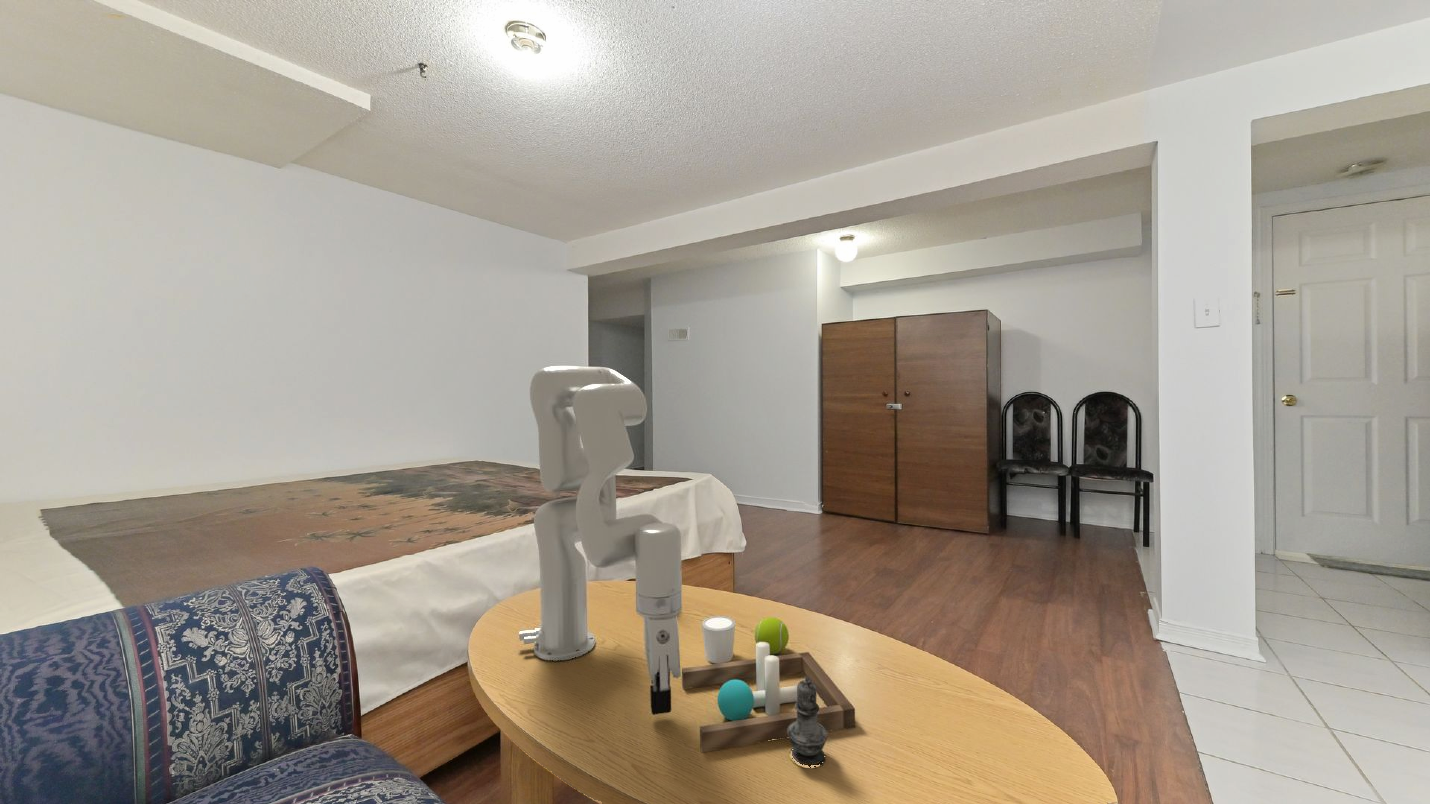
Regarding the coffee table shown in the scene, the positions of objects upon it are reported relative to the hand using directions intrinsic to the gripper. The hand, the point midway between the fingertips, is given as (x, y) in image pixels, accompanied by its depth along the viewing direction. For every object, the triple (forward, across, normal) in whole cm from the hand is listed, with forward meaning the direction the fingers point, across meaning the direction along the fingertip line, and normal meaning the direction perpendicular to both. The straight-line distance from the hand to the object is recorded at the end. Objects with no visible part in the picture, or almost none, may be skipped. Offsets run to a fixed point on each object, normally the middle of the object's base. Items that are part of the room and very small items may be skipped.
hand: (661, 710), depth 87 cm
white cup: (+2, +18, -14) cm, 23 cm away
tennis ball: (+2, +17, -25) cm, 30 cm away
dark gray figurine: (+2, -14, -20) cm, 24 cm away
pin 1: (+2, +2, -18) cm, 19 cm away
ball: (-2, -3, -12) cm, 12 cm away
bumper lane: (+2, 0, -18) cm, 18 cm away
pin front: (0, 0, -16) cm, 16 cm away
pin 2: (+2, -2, -18) cm, 19 cm away
